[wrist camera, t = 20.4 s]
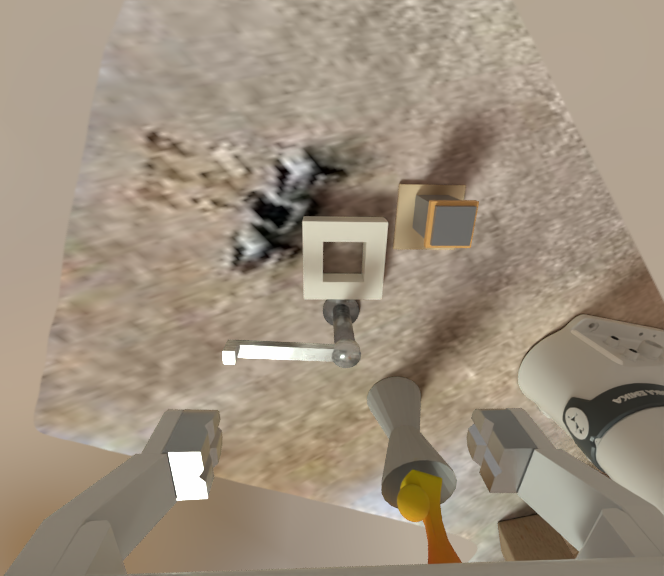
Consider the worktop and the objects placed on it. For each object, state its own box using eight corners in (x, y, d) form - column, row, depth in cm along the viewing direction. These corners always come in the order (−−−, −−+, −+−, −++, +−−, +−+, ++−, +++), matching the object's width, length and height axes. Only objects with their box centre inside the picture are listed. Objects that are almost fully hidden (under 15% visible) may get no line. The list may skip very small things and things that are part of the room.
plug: (452, 191, 40) (481, 202, 33) (446, 230, 42) (472, 249, 35) (412, 191, 40) (433, 202, 33) (408, 230, 42) (427, 249, 35)
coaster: (464, 185, 40) (466, 185, 40) (453, 248, 44) (455, 249, 43) (399, 184, 40) (399, 184, 40) (392, 248, 43) (393, 249, 43)
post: (359, 293, 46) (368, 329, 37) (357, 325, 48) (366, 366, 39) (323, 293, 46) (323, 329, 37) (322, 325, 48) (323, 366, 39)
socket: (383, 217, 42) (388, 222, 39) (377, 290, 46) (381, 299, 43) (303, 216, 41) (302, 221, 39) (304, 289, 45) (303, 299, 43)
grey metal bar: (361, 339, 37) (363, 350, 35) (358, 363, 38) (360, 375, 36) (227, 333, 36) (222, 344, 34) (229, 357, 37) (223, 370, 35)
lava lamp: (432, 386, 53) (605, 765, 21) (405, 426, 56) (517, 807, 24) (381, 368, 51) (484, 751, 19) (356, 410, 54) (407, 798, 22)
